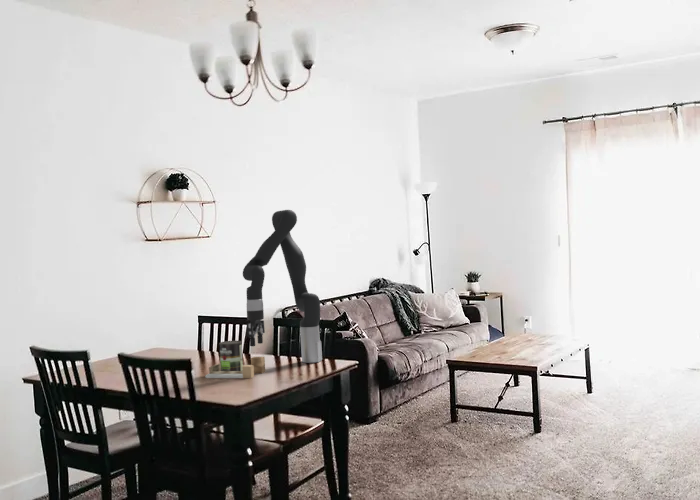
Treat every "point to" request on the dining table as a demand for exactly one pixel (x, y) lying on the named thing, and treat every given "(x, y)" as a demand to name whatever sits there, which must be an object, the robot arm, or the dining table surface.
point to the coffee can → (231, 356)
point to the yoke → (256, 361)
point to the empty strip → (247, 373)
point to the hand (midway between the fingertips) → (256, 344)
